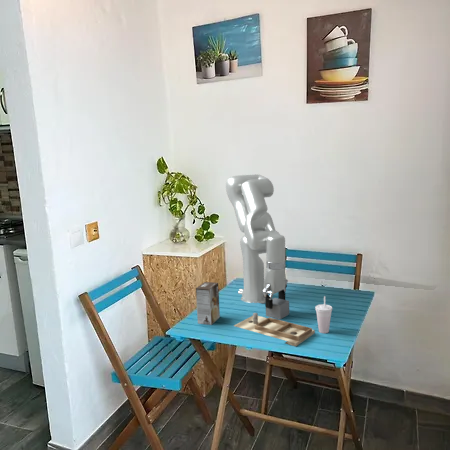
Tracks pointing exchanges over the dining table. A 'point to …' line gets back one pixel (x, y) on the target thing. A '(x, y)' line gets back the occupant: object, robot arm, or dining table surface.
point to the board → (277, 329)
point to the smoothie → (323, 317)
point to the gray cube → (278, 309)
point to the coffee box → (207, 303)
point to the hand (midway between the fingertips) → (275, 304)
